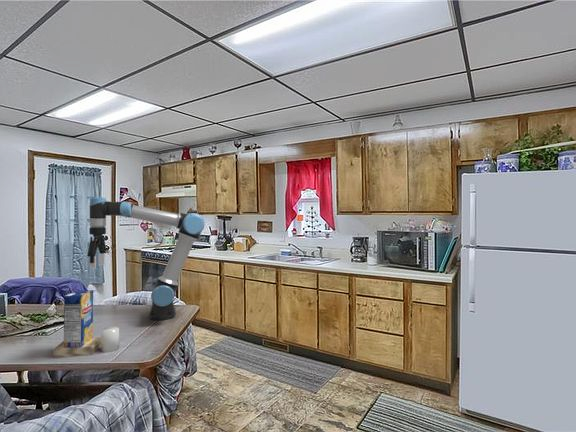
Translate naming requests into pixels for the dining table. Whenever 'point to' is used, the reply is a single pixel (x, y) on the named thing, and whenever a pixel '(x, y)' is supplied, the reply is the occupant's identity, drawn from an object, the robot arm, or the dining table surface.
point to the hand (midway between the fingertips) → (97, 267)
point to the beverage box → (78, 318)
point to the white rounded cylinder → (110, 339)
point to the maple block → (77, 349)
